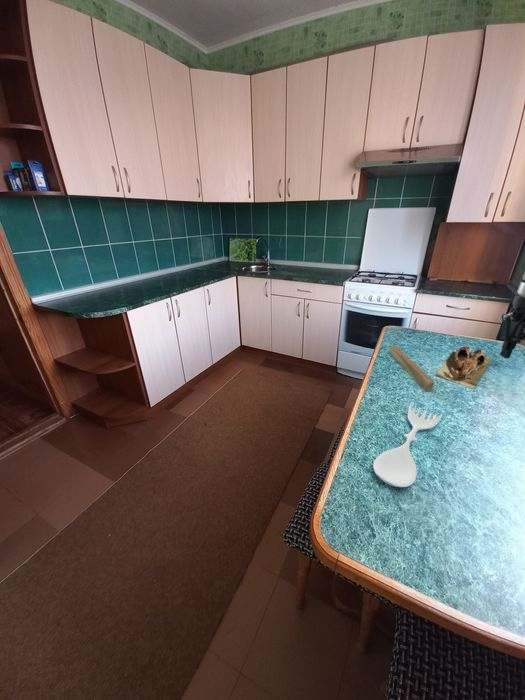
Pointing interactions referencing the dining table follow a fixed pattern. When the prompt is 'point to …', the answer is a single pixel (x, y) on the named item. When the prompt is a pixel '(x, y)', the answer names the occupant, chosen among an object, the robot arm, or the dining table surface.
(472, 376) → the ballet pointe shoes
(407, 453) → the spoon
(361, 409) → the dining table surface
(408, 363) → the light brown wooden bar
